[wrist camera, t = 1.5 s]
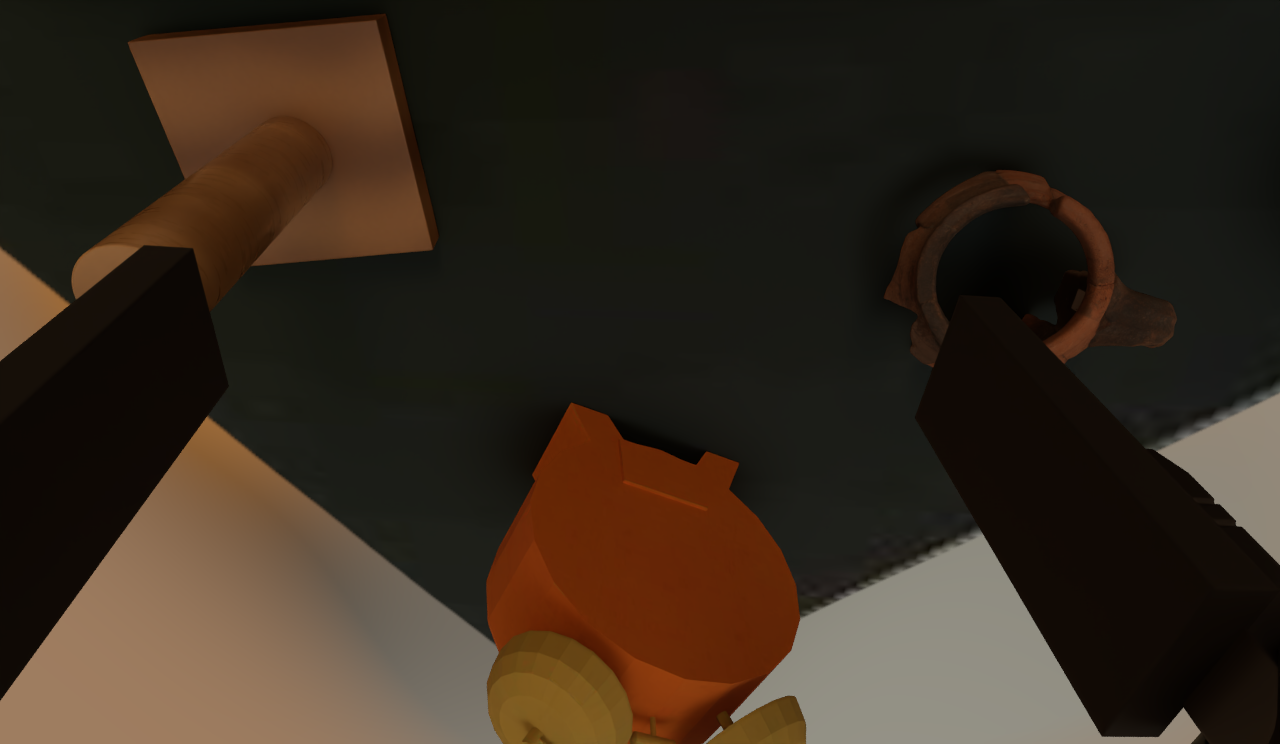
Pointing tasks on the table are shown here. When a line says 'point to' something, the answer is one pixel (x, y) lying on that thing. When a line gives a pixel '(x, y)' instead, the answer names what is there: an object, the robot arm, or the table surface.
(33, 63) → the table surface
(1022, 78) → the table surface
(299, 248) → the stand
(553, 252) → the table surface
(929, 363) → the pottery mug
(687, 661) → the alarm clock
